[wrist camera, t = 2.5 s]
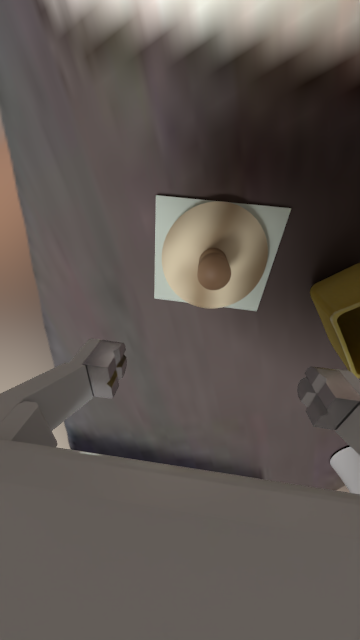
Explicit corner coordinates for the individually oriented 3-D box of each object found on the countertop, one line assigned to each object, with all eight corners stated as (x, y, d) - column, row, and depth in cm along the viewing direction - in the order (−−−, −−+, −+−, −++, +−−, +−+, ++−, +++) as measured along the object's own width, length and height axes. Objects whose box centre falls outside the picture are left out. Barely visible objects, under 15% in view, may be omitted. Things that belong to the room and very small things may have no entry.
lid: (281, 207, 20) (305, 208, 15) (248, 310, 26) (258, 333, 21) (165, 195, 20) (153, 193, 15) (161, 298, 26) (151, 319, 22)
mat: (289, 208, 20) (291, 208, 19) (255, 309, 26) (256, 311, 26) (156, 195, 21) (155, 195, 20) (155, 296, 27) (154, 298, 26)
